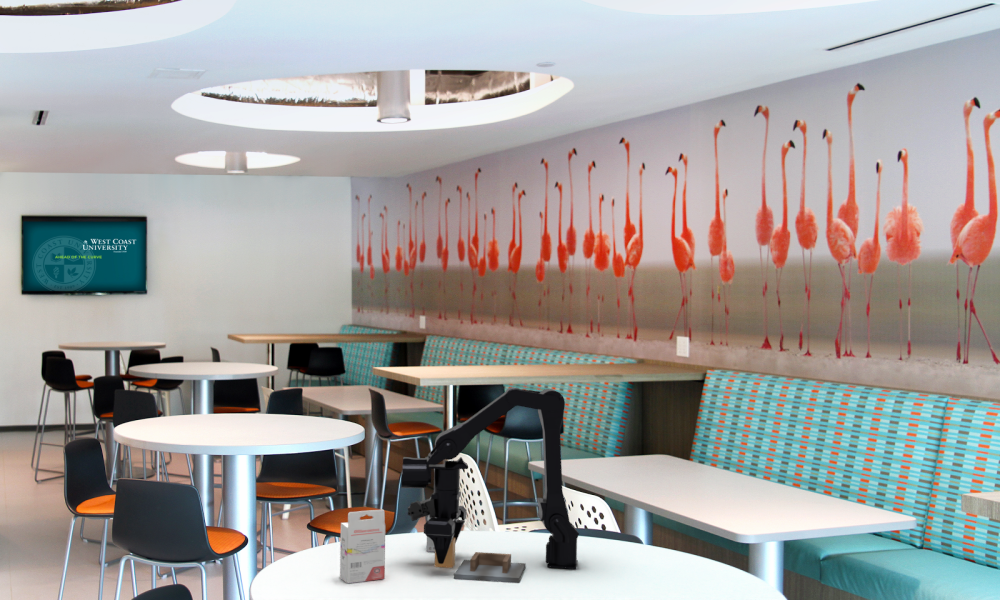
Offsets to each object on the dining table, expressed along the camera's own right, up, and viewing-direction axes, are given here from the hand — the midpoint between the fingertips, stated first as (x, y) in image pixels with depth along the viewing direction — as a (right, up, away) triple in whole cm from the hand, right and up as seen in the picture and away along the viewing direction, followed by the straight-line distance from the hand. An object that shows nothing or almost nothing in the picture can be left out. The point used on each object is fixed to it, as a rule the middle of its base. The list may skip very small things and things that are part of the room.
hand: (445, 558), depth 202 cm
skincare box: (-3, -2, +14) cm, 15 cm away
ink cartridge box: (-17, -1, -12) cm, 21 cm away
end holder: (+10, -2, -6) cm, 12 cm away
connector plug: (0, -2, 0) cm, 2 cm away
